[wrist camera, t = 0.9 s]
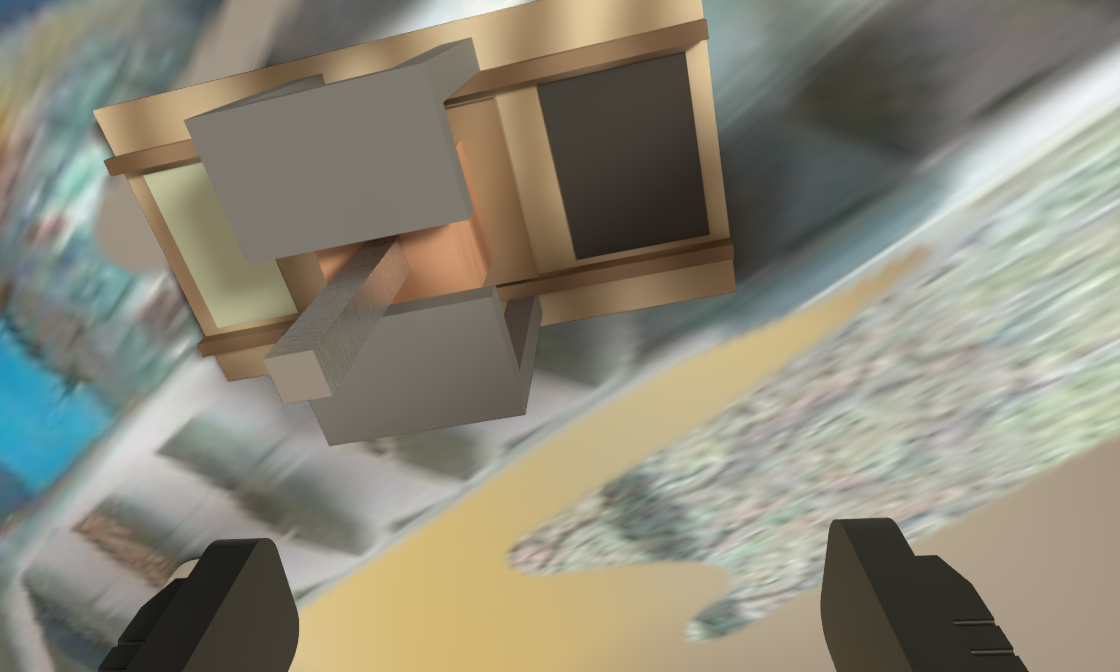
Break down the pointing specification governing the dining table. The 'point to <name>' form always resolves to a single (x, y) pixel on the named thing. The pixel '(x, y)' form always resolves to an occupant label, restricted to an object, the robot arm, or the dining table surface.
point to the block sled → (411, 263)
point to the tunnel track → (440, 194)
